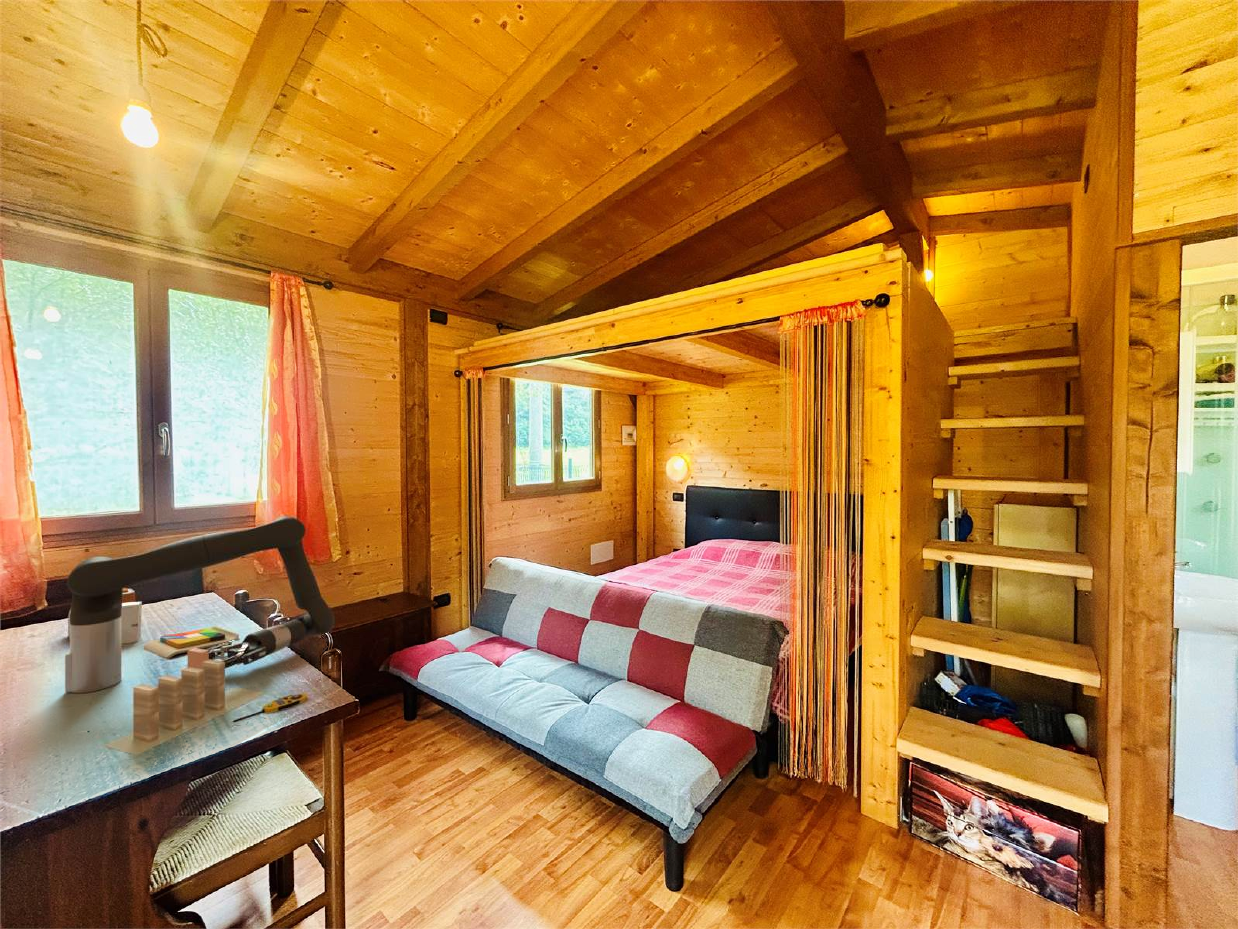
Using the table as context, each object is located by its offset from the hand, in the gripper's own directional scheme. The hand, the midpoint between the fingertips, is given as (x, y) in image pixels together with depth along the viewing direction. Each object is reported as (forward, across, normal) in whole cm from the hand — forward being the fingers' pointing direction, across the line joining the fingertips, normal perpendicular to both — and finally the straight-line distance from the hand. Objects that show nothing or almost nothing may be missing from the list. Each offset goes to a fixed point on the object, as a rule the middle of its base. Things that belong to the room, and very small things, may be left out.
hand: (207, 663), depth 128 cm
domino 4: (+11, +12, +6) cm, 18 cm away
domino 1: (+20, +12, +6) cm, 24 cm away
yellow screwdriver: (+3, +26, +7) cm, 27 cm away
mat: (+11, +12, +7) cm, 18 cm away
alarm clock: (-18, -74, +7) cm, 77 cm away
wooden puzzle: (-20, -37, +7) cm, 43 cm away
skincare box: (-15, -58, +7) cm, 60 cm away
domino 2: (+16, +12, +6) cm, 21 cm away
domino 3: (+2, 0, +7) cm, 7 cm away
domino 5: (+7, +12, +6) cm, 15 cm away
